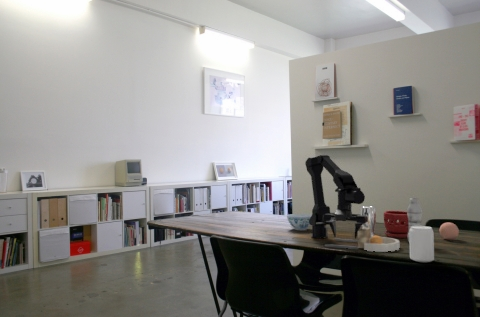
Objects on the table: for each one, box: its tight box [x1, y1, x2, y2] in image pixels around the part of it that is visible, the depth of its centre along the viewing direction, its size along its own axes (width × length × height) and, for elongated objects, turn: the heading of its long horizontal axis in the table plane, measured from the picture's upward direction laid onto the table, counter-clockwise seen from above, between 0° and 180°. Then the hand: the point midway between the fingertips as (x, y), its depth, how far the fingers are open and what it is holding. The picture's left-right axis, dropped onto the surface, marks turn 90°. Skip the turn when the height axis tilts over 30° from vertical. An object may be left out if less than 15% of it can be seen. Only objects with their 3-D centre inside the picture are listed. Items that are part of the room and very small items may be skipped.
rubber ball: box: [370, 235, 383, 244], centre depth 169 cm, size 5×5×5 cm
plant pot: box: [383, 210, 409, 239], centre depth 194 cm, size 13×13×12 cm
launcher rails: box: [324, 237, 359, 250], centre depth 175 cm, size 14×16×1 cm
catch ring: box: [363, 236, 401, 253], centre depth 167 cm, size 12×19×3 cm, turn 151°
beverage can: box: [408, 225, 435, 263], centre depth 145 cm, size 8×8×12 cm
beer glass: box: [360, 205, 377, 238], centre depth 190 cm, size 7×7×15 cm
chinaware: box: [286, 213, 312, 231], centre depth 220 cm, size 15×15×8 cm
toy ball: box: [439, 222, 460, 241], centre depth 184 cm, size 8×8×8 cm
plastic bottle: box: [406, 197, 423, 242], centre depth 175 cm, size 6×7×20 cm
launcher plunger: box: [357, 227, 371, 249], centre depth 171 cm, size 3×12×7 cm, turn 151°
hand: (345, 237), depth 175 cm, fingers open, 9 cm apart
